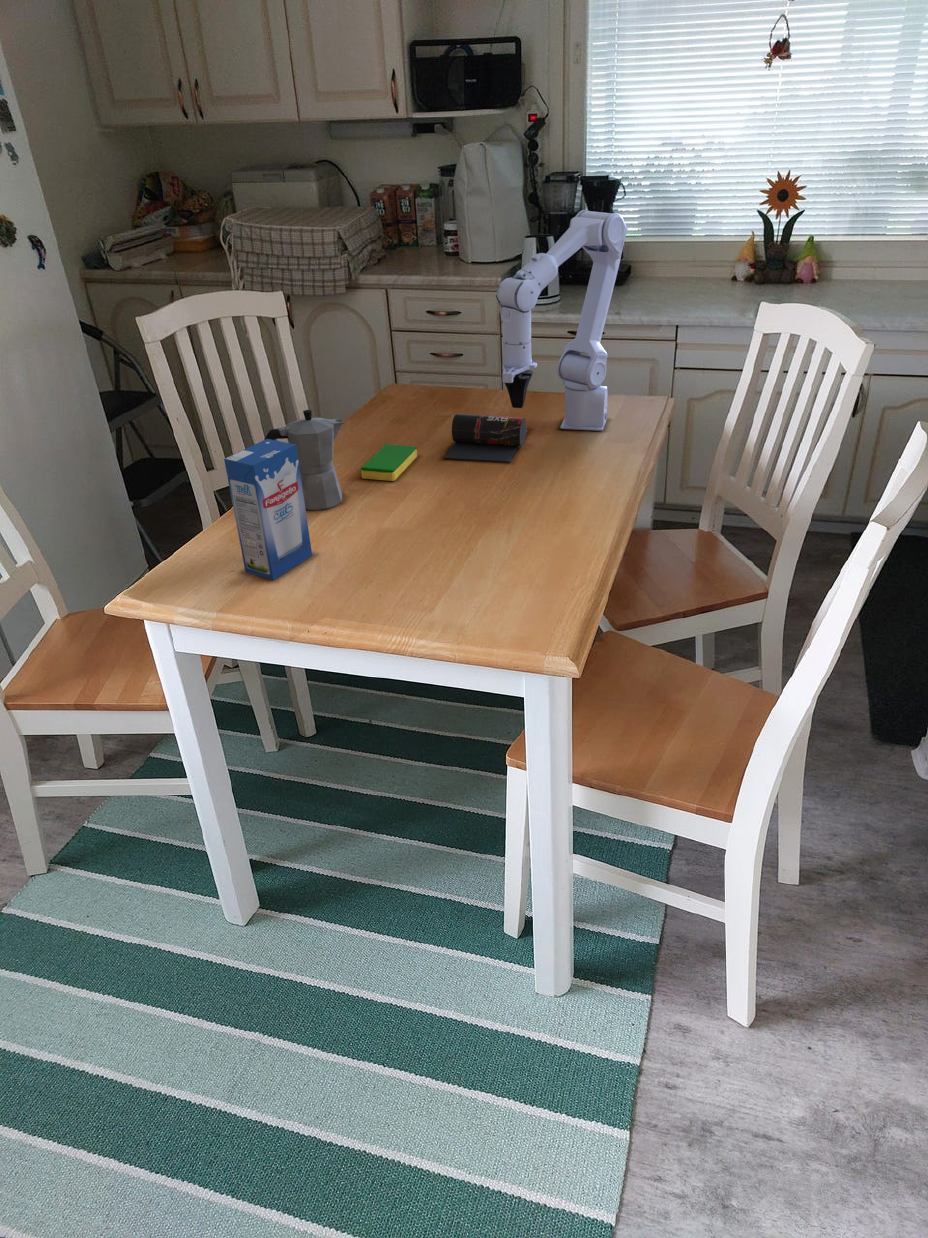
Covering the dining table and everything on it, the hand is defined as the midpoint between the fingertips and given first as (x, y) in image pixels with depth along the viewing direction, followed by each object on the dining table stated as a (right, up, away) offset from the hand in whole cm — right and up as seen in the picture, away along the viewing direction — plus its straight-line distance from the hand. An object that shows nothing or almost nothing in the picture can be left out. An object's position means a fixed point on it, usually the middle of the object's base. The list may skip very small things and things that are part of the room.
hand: (517, 406), depth 192 cm
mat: (-6, -6, +7) cm, 11 cm away
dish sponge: (-27, -13, -2) cm, 30 cm away
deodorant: (+1, -5, +3) cm, 6 cm away
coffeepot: (-40, -22, -15) cm, 48 cm away
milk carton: (-42, -35, -37) cm, 66 cm away
